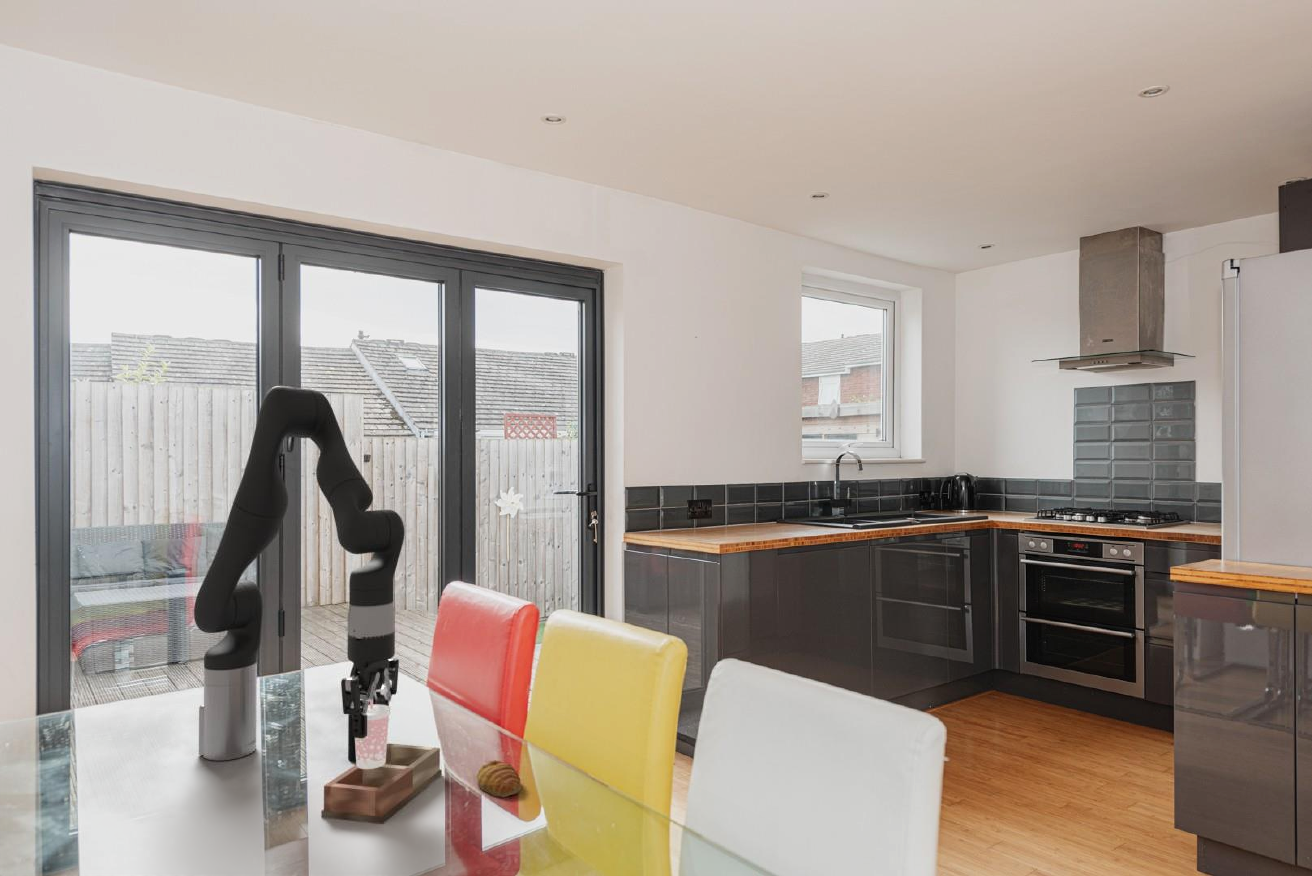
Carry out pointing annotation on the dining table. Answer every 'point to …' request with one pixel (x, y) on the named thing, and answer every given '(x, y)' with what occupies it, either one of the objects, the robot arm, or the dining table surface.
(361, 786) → the cup holder
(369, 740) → the beverage cup
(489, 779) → the pastry
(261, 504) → the robot arm
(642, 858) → the dining table surface
